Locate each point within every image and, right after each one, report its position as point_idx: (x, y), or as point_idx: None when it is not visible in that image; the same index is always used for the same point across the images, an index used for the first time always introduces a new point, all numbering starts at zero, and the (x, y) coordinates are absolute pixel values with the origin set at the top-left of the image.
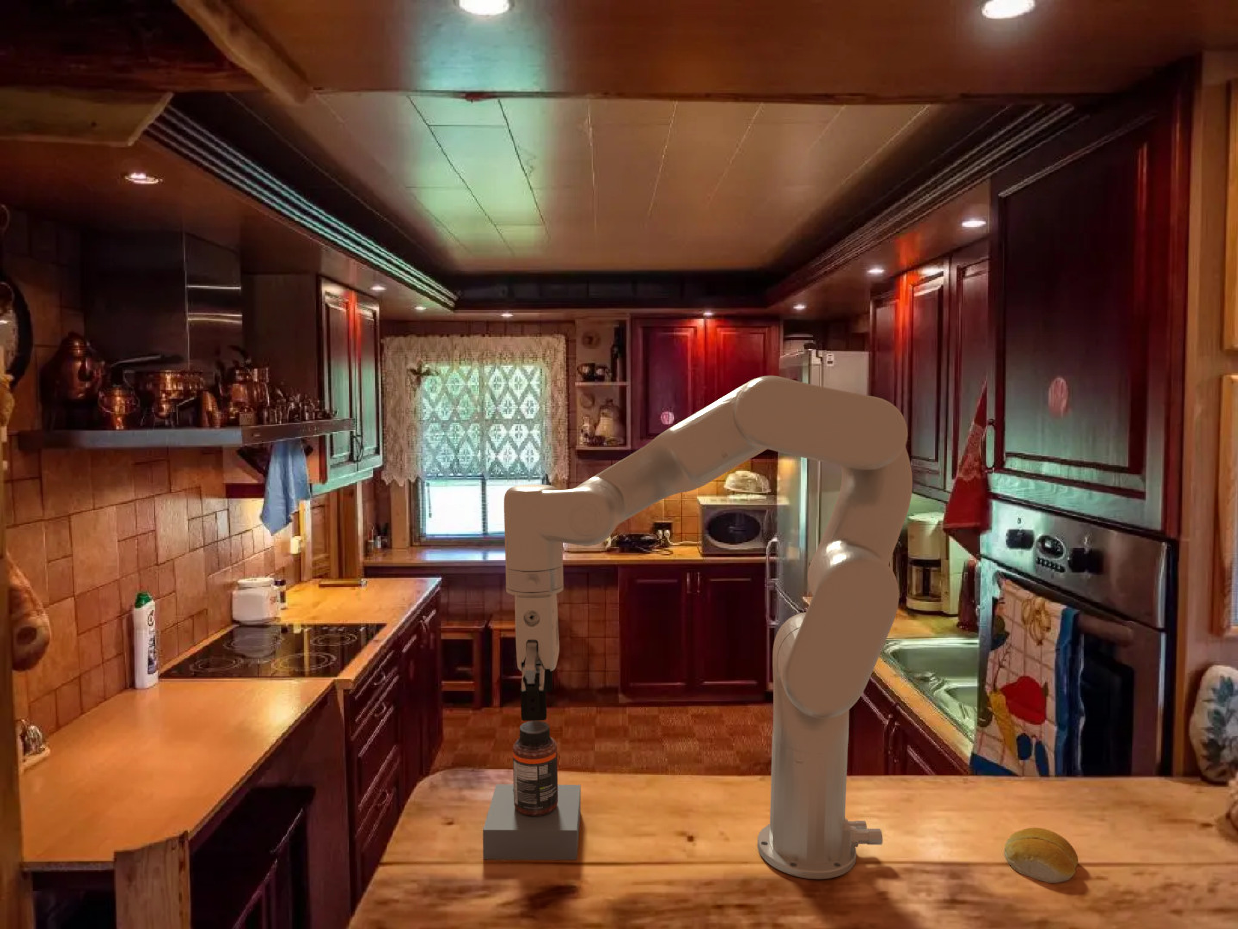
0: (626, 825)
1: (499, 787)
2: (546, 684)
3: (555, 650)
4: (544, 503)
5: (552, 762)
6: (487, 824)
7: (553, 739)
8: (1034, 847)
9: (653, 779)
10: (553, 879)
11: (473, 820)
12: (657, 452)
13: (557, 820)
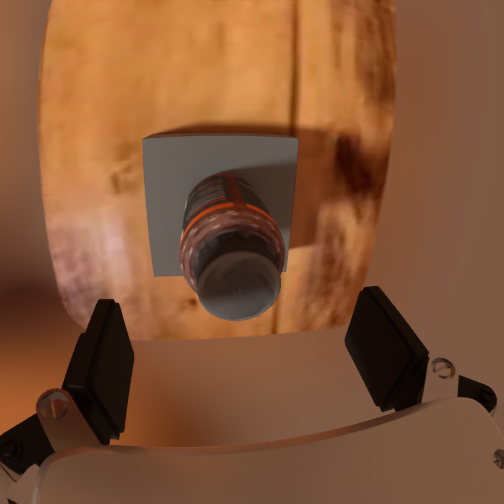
0: (192, 62)
1: (163, 270)
2: (117, 333)
3: (470, 485)
4: None
5: (261, 208)
6: None
7: (213, 223)
8: None
9: (58, 40)
10: (324, 164)
11: (184, 278)
12: None
13: (266, 169)
